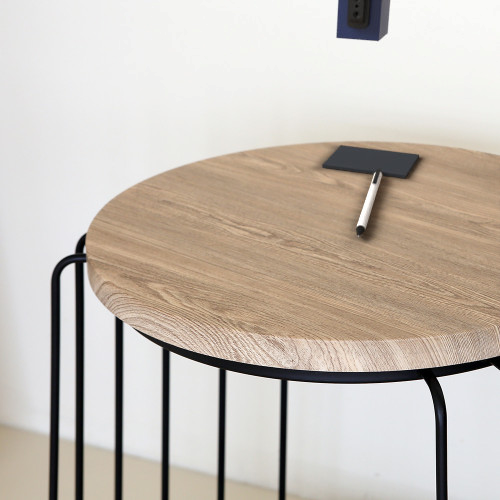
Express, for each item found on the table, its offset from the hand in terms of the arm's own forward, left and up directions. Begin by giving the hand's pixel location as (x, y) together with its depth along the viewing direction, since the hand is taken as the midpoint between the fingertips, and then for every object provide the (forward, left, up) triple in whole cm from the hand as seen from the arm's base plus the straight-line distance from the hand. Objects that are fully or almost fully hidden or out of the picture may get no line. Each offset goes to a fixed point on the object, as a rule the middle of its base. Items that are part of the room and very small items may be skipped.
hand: (363, 22), depth 84 cm
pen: (-4, +7, -18) cm, 19 cm away
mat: (0, -7, -18) cm, 19 cm away
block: (0, 0, -1) cm, 1 cm away
